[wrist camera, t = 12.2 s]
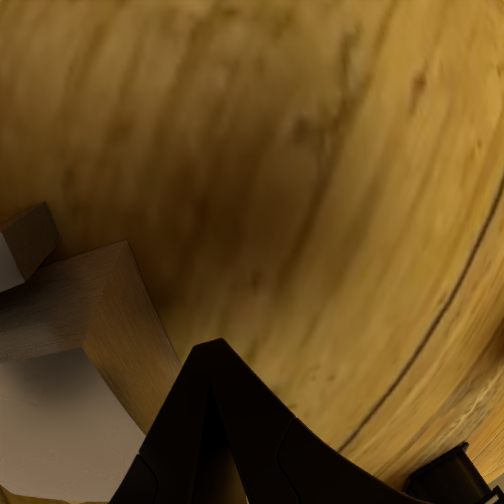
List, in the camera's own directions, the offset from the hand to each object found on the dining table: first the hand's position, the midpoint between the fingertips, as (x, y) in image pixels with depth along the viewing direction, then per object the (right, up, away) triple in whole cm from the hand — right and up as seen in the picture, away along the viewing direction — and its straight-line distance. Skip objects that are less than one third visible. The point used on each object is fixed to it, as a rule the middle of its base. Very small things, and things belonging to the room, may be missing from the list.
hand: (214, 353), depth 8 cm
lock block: (-5, -1, +1) cm, 5 cm away
